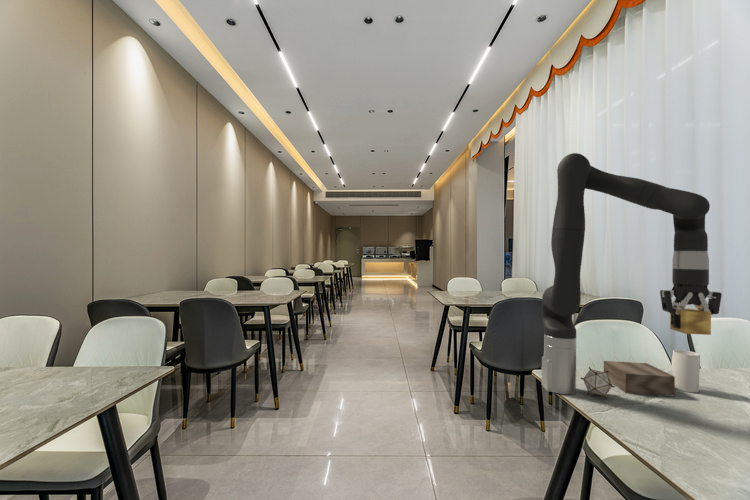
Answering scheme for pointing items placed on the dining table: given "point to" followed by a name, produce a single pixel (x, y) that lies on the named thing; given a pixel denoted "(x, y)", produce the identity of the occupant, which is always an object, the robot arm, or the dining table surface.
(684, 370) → the mug
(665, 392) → the riser
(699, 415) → the dining table surface
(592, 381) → the game die
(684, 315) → the ochre block
